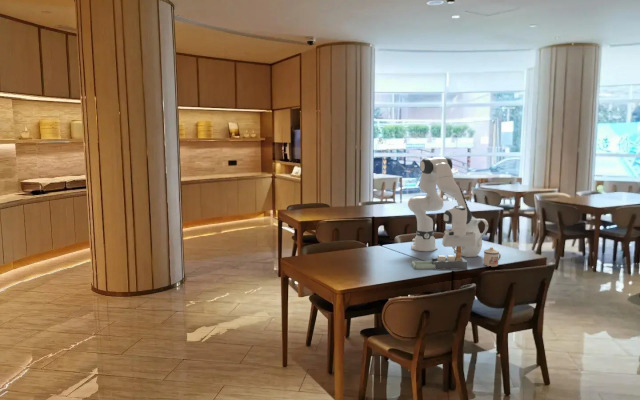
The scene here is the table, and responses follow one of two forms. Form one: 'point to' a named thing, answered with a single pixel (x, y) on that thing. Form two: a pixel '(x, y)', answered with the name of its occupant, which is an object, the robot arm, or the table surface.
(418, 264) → the tray
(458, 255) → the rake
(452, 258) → the cream block
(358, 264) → the table surface
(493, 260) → the teacup with lid
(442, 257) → the cream block
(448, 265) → the grooved board
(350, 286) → the table surface
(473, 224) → the pitcher
